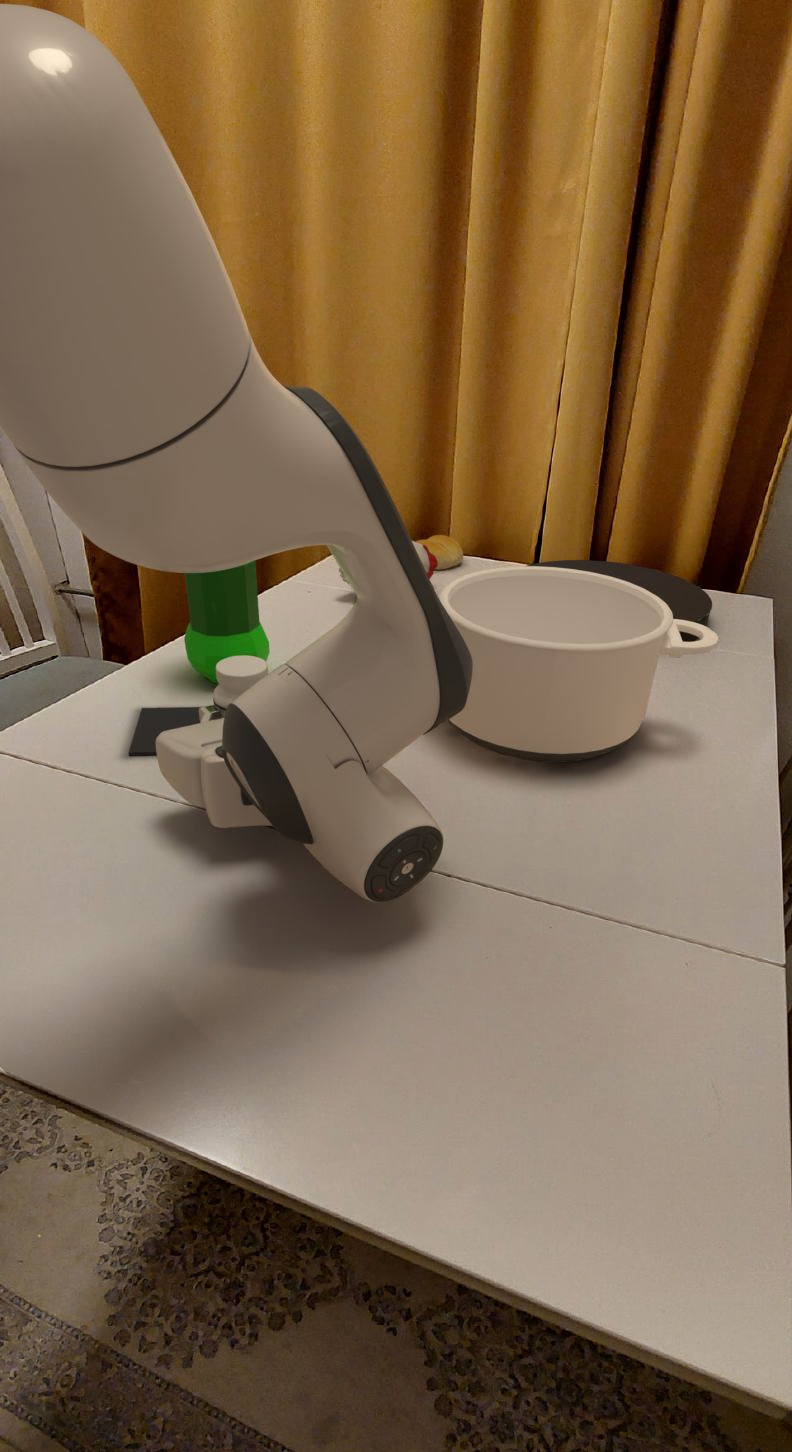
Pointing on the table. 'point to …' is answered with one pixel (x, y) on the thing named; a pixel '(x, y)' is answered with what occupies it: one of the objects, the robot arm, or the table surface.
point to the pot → (560, 659)
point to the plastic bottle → (223, 618)
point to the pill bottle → (236, 678)
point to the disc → (652, 587)
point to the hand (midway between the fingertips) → (241, 705)
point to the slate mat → (159, 726)
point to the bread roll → (444, 550)
